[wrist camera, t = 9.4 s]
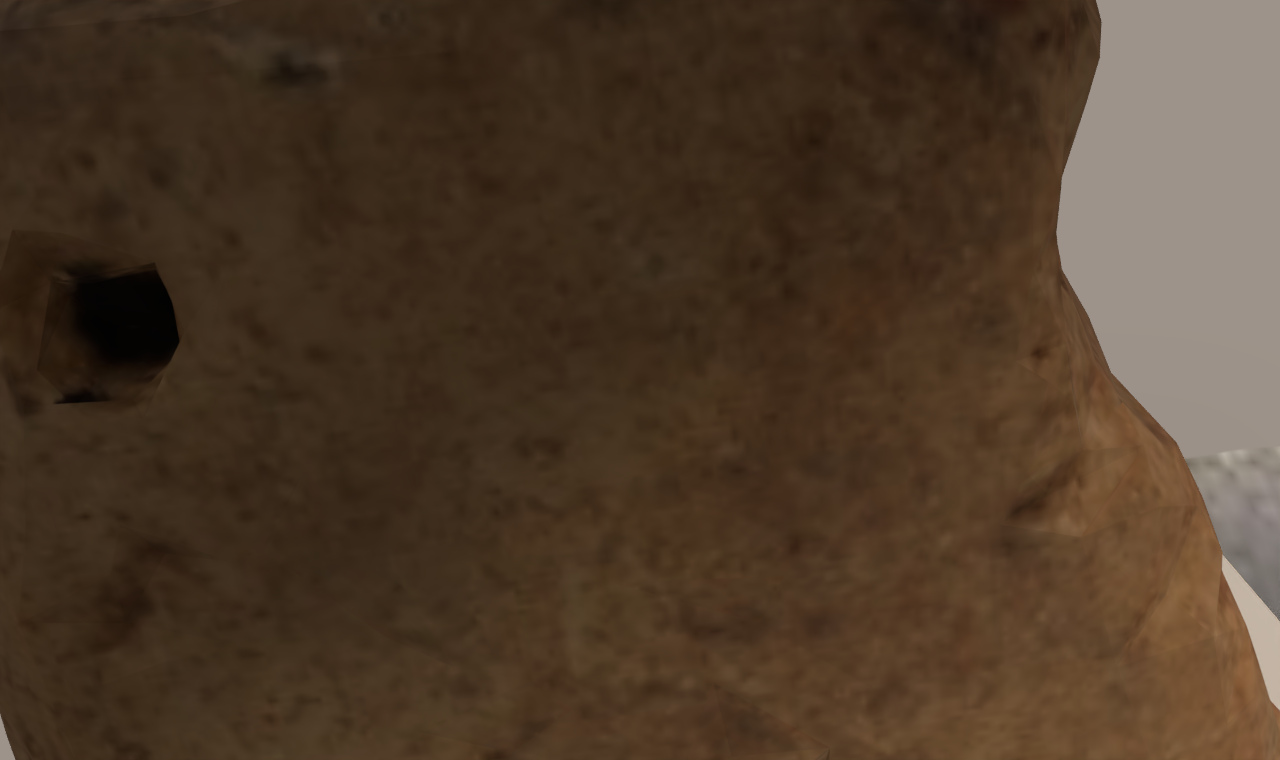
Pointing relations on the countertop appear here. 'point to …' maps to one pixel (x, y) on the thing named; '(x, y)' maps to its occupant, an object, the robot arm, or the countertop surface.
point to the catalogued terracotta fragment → (578, 393)
